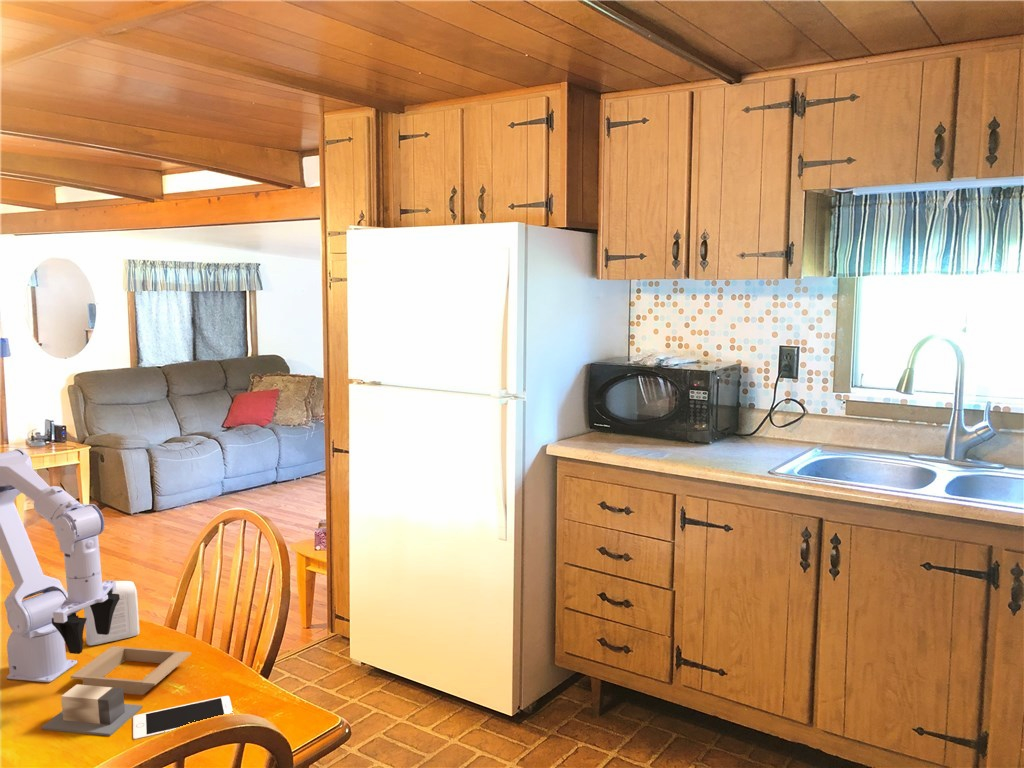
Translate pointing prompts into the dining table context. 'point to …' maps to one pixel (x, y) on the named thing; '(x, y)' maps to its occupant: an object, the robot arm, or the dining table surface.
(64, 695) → the box
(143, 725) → the cell phone
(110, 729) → the mat
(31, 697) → the dining table surface
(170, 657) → the tan rectangular frame
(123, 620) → the photo printer
